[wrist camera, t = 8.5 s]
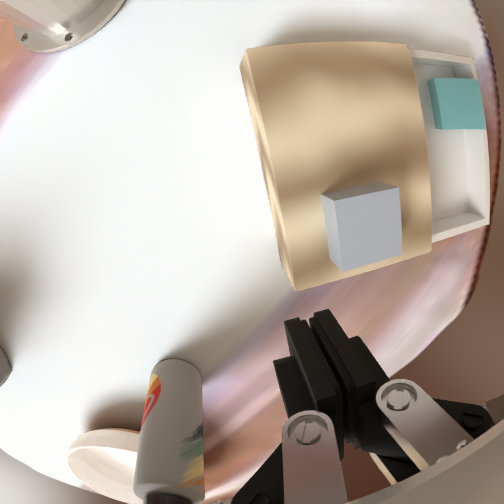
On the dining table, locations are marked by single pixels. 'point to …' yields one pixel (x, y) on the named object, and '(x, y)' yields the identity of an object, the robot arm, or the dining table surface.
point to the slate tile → (363, 224)
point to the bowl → (106, 462)
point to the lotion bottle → (171, 437)
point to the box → (453, 153)
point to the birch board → (336, 143)
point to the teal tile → (456, 103)
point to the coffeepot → (4, 367)
